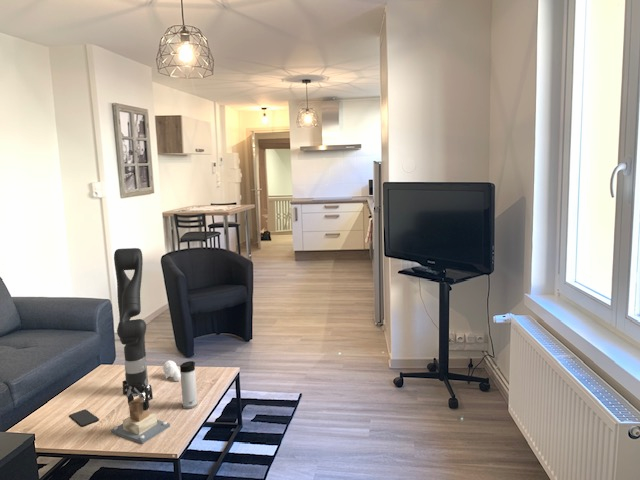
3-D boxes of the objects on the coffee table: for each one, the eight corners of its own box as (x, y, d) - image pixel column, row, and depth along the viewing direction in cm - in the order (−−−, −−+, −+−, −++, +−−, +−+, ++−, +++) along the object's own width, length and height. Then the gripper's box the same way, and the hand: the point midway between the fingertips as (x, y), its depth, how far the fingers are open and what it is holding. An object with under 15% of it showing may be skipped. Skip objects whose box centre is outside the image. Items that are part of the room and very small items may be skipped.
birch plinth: (123, 429, 191) (122, 420, 190) (141, 419, 198) (140, 410, 198) (139, 434, 186) (138, 425, 186) (157, 424, 194) (156, 414, 194)
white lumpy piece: (172, 357, 245) (185, 365, 237) (173, 372, 247) (185, 381, 239) (161, 361, 241) (174, 369, 233) (161, 376, 242) (174, 385, 235)
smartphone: (85, 408, 211) (100, 418, 201) (85, 410, 211) (100, 421, 201) (67, 415, 206) (81, 426, 196) (68, 417, 206) (82, 428, 196)
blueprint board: (110, 432, 191) (110, 428, 190) (139, 416, 203) (138, 412, 203) (142, 443, 182) (142, 438, 182) (170, 426, 194) (169, 421, 194)
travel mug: (194, 409, 208) (191, 365, 205) (180, 408, 209) (177, 365, 206) (200, 402, 214) (197, 360, 211) (187, 401, 215) (183, 359, 212)
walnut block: (130, 419, 191) (128, 402, 190) (140, 413, 195) (139, 397, 194) (139, 421, 189) (137, 405, 188) (149, 415, 193) (147, 399, 192)
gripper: (115, 369, 189) (118, 407, 191) (140, 375, 182) (143, 415, 185) (130, 362, 196) (134, 399, 198) (155, 368, 189) (158, 407, 191)
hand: (138, 407), depth 191 cm, fingers open, 8 cm apart
